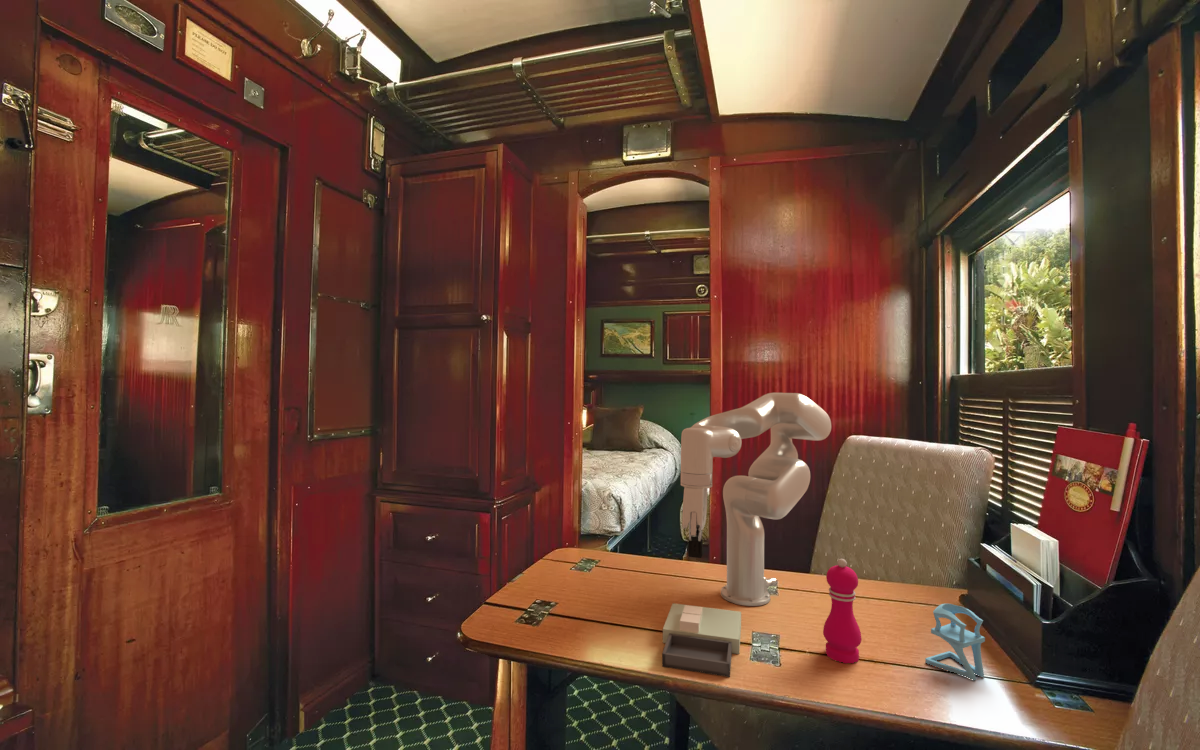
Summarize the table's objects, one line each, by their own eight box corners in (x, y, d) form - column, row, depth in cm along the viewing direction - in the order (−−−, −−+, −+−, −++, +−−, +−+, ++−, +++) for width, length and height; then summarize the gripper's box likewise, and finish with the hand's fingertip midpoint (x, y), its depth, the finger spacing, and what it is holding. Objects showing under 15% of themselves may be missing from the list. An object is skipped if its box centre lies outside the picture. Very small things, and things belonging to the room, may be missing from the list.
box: (669, 645, 114) (669, 633, 114) (731, 654, 110) (731, 642, 110) (662, 666, 105) (662, 653, 105) (729, 677, 101) (729, 664, 101)
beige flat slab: (672, 615, 128) (672, 603, 128) (741, 624, 123) (741, 611, 123) (662, 642, 114) (662, 628, 115) (739, 654, 110) (739, 639, 110)
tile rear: (684, 613, 122) (684, 605, 122) (702, 616, 121) (702, 607, 121) (682, 621, 118) (682, 612, 118) (700, 623, 117) (700, 614, 117)
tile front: (682, 622, 118) (682, 613, 118) (700, 624, 117) (700, 615, 117) (679, 630, 114) (679, 620, 114) (698, 632, 113) (698, 623, 113)
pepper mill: (859, 669, 105) (859, 567, 105) (820, 658, 108) (820, 560, 109) (863, 653, 111) (863, 557, 111) (826, 644, 114) (826, 551, 115)
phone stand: (966, 684, 100) (967, 620, 100) (924, 662, 107) (924, 603, 107) (992, 675, 103) (992, 613, 103) (949, 655, 110) (949, 597, 110)
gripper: (684, 473, 136) (683, 546, 135) (676, 483, 121) (675, 564, 121) (714, 475, 134) (713, 549, 133) (709, 486, 119) (708, 568, 119)
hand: (695, 556), depth 127 cm, fingers closed
